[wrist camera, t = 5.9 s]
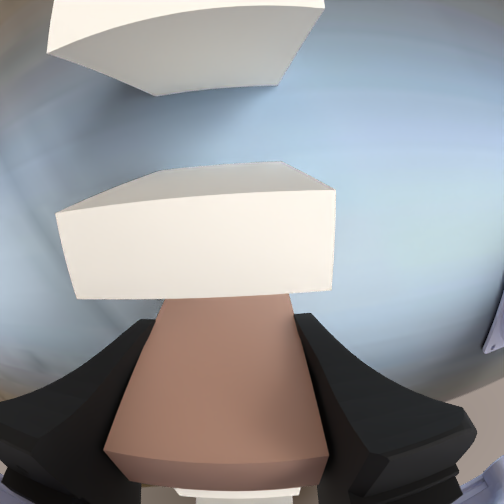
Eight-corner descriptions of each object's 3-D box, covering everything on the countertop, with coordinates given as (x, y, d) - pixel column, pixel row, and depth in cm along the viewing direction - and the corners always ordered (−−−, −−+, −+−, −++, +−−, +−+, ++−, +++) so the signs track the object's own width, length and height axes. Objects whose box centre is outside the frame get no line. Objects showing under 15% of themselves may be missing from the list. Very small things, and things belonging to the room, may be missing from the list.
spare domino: (166, 295, 12) (103, 449, 5) (287, 290, 12) (328, 455, 5) (174, 330, 12) (129, 480, 5) (287, 326, 12) (318, 484, 5)
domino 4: (160, 170, 12) (55, 213, 4) (281, 161, 12) (335, 189, 4) (165, 211, 12) (77, 299, 5) (282, 203, 12) (331, 290, 5)
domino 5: (154, 58, 10) (57, -15, 3) (275, 47, 10) (312, -59, 3) (155, 96, 10) (47, 53, 3) (277, 85, 10) (324, 8, 3)
